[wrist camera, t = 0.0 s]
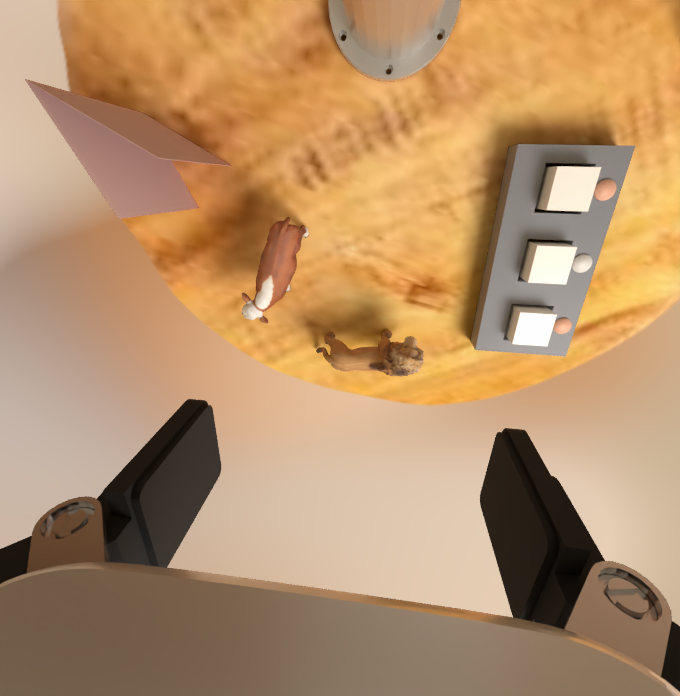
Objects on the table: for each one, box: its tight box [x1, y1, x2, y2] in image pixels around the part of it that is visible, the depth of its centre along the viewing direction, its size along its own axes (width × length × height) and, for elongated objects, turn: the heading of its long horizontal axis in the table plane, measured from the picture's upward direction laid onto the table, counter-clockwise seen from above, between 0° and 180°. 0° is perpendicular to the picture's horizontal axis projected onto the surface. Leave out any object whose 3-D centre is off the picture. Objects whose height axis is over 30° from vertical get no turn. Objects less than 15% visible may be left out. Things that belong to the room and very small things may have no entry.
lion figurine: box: [316, 330, 423, 376], centre depth 46 cm, size 15×5×9 cm, turn 103°
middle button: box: [519, 241, 577, 285], centre depth 40 cm, size 4×4×4 cm
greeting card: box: [26, 80, 231, 219], centre depth 36 cm, size 11×7×15 cm, turn 26°
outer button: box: [505, 304, 557, 346], centre depth 43 cm, size 4×4×4 cm
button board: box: [470, 144, 635, 356], centre depth 41 cm, size 23×11×3 cm, turn 178°
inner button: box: [535, 166, 601, 212], centre depth 37 cm, size 4×4×4 cm
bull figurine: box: [242, 217, 309, 323], centre depth 43 cm, size 4×13×8 cm, turn 154°
